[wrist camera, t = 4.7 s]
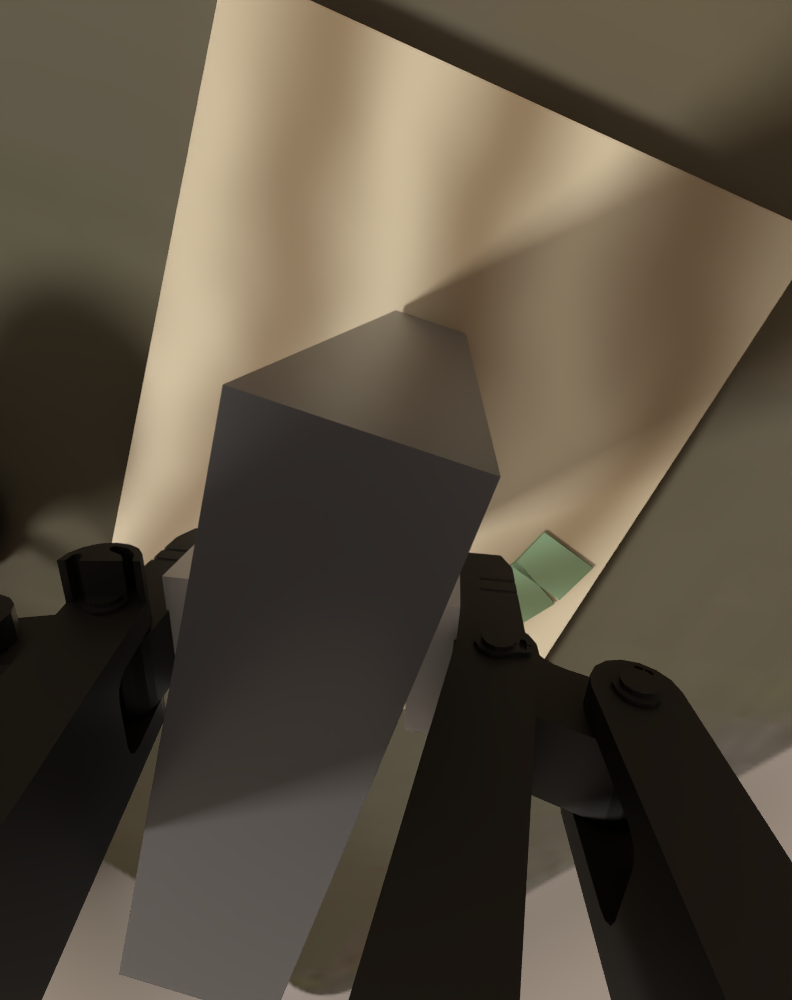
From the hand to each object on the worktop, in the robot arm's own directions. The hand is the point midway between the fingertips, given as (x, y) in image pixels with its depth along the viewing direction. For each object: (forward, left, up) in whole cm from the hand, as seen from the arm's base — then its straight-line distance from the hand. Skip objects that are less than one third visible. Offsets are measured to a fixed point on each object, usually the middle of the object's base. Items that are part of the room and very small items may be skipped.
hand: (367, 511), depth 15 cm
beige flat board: (0, 0, -8) cm, 8 cm away
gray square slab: (0, -2, -6) cm, 6 cm away
